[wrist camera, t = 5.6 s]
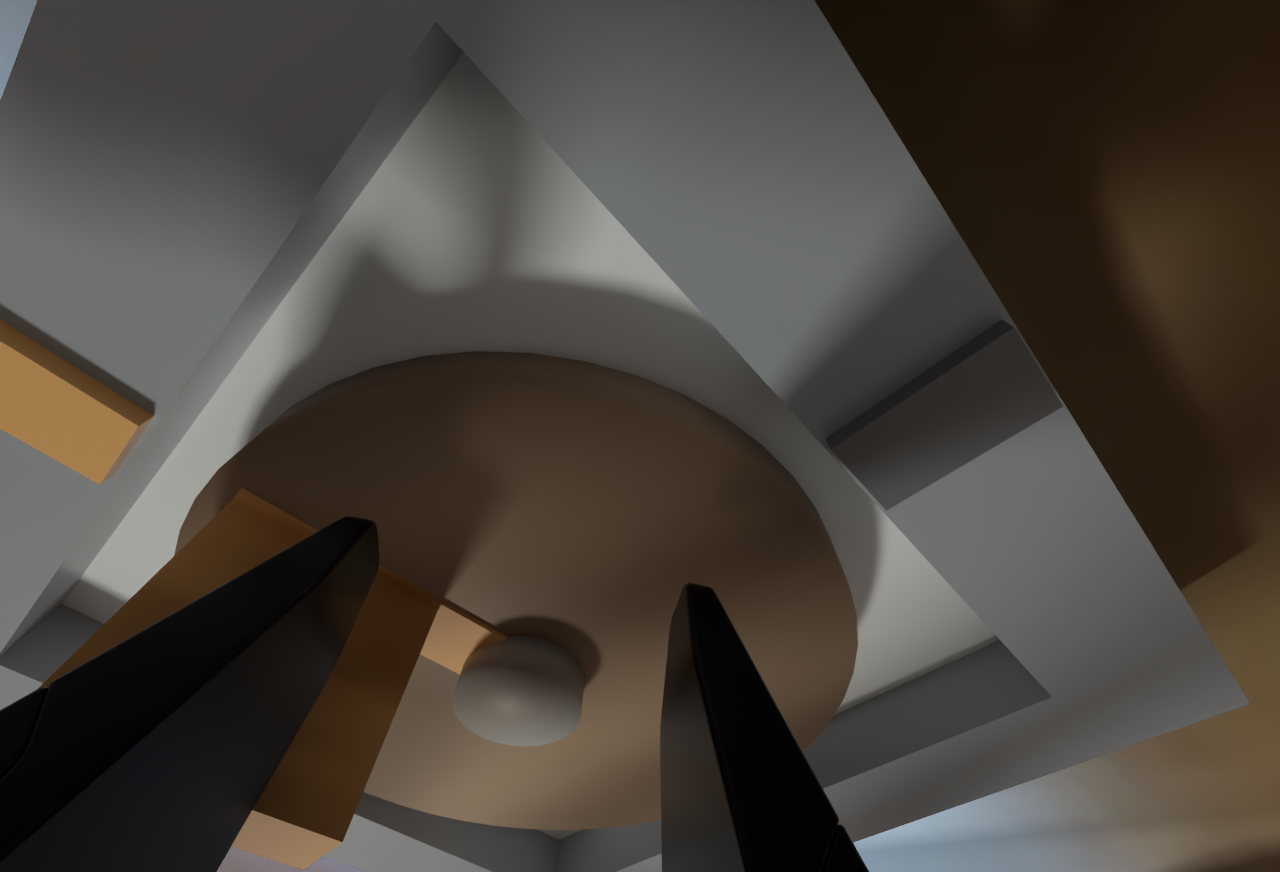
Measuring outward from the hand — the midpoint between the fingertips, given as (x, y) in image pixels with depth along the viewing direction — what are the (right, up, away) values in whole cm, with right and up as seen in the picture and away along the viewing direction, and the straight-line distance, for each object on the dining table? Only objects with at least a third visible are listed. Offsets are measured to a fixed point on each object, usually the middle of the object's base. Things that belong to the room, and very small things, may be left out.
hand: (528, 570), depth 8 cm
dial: (-1, -2, +5) cm, 5 cm away
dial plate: (-1, -2, +6) cm, 6 cm away
